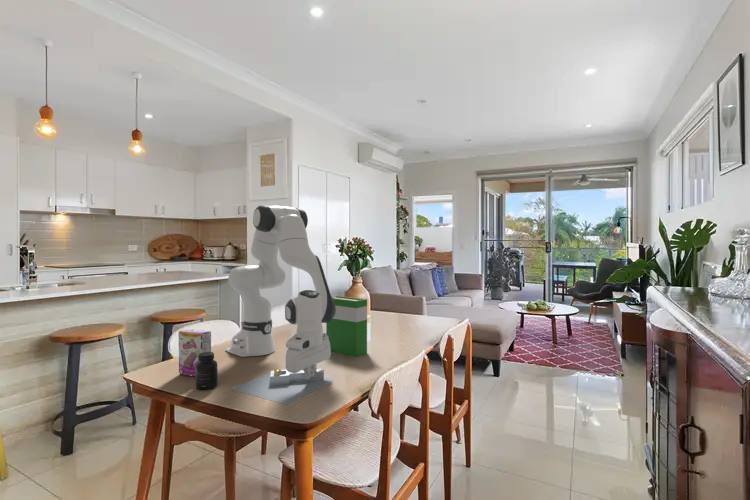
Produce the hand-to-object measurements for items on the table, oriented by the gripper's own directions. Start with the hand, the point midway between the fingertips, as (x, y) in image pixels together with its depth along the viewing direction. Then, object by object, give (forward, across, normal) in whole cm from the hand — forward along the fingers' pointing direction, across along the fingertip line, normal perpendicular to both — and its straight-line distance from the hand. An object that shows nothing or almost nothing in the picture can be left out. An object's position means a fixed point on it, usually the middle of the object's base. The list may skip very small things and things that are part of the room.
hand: (309, 378), depth 134 cm
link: (+2, 0, -5) cm, 5 cm away
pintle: (+2, +6, -10) cm, 11 cm away
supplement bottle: (+3, +20, -28) cm, 34 cm away
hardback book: (+3, -40, -12) cm, 42 cm away
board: (+2, +6, -7) cm, 9 cm away
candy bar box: (+3, +13, -44) cm, 46 cm away
